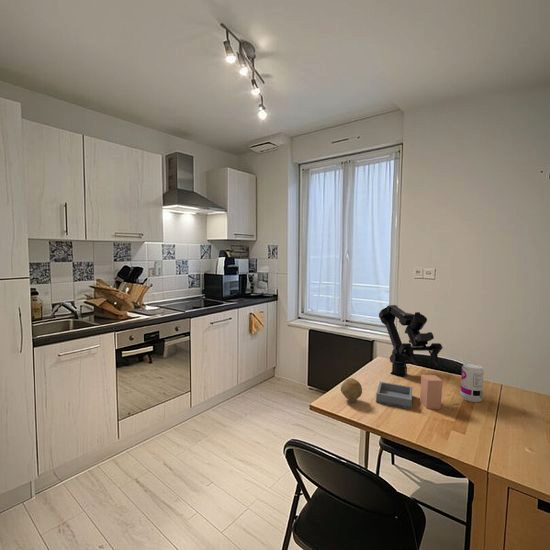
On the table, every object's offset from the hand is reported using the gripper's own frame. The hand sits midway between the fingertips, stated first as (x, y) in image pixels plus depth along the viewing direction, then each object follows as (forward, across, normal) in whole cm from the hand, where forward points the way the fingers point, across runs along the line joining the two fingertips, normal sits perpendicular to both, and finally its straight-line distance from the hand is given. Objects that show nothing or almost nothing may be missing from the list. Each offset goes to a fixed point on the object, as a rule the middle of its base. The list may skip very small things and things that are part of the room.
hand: (427, 365), depth 143 cm
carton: (+16, -2, +6) cm, 17 cm away
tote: (+11, -15, +10) cm, 21 cm away
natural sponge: (+12, -35, +9) cm, 38 cm away
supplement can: (+12, +19, +9) cm, 24 cm away
